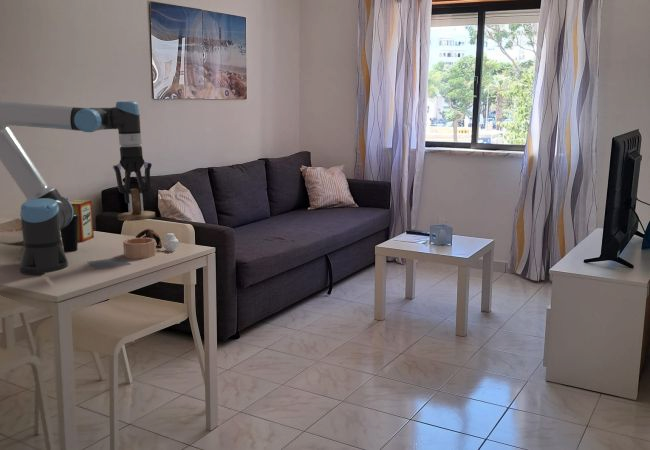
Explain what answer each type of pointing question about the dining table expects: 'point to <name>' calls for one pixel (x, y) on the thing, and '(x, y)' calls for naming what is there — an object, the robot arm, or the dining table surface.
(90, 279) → the dining table surface
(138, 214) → the walnut lid
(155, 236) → the pottery mug
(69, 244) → the drinking cup
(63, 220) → the robot arm
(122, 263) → the grey mat
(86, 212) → the baking soda box
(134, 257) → the terracotta bowl
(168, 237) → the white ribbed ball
